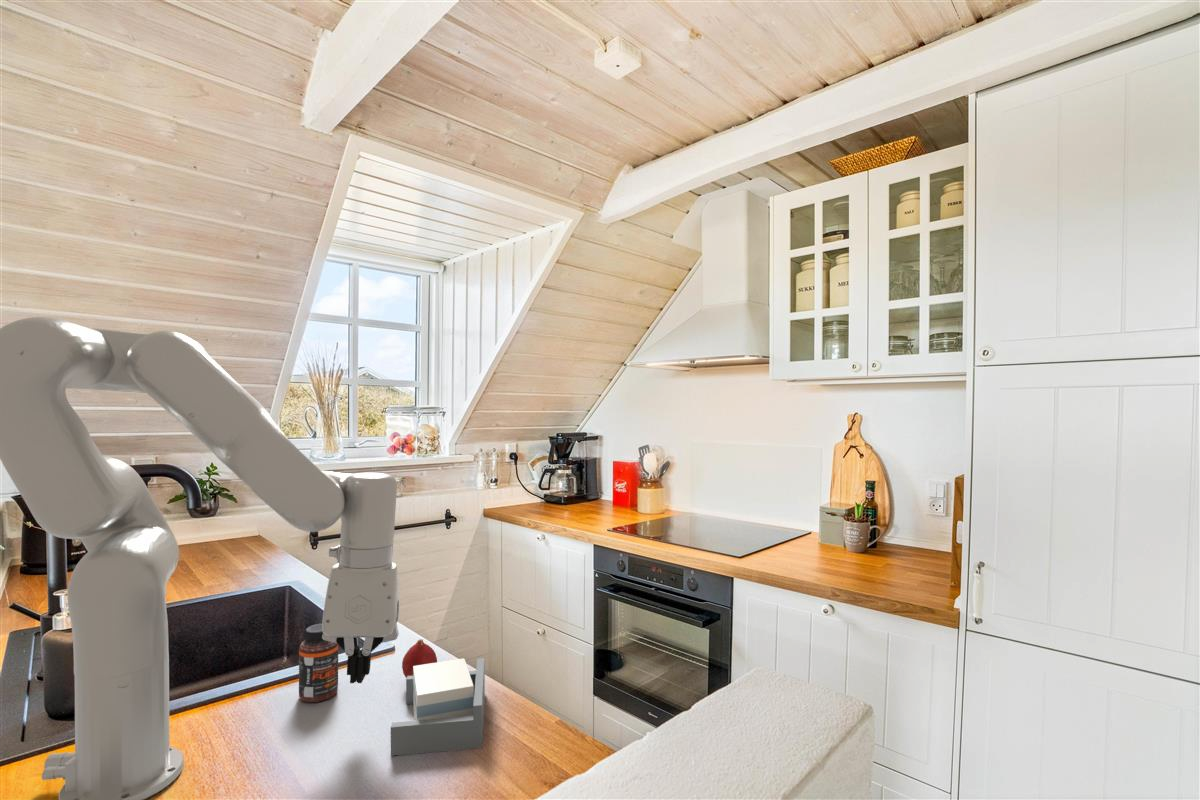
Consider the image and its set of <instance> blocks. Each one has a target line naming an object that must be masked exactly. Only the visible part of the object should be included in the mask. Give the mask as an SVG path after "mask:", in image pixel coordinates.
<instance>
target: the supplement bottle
mask: <svg viewBox="0 0 1200 800" xmlns="http://www.w3.org/2000/svg"><path fill="white" fill-rule="evenodd" d="M322 635H323V631H322V623H317V624H312V625H310V626H308V627H307V628H305V639H304V640H303V641H302V642H301V643H300V645H299V649H298V650H299V651H298V653H299V654H298V697H299V699H300V700H301V701H302V702H305V703H319V702H320V703H321V702H323V701H326V700H328V699H330V698H332V697H334V696H335V695H336V694H337V693H338V690H339V688H338V687H339V645H338V644H337V643H336V642H330V641H326V640H323V639H322Z"/></svg>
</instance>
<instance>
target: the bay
mask: <svg viewBox="0 0 1200 800" xmlns="http://www.w3.org/2000/svg"><path fill="white" fill-rule="evenodd" d="M485 663H486V662H485V658H484V657H481V658H476V669H475V670H472V671H471V670H468V671H469V674H470V677H471V680H472V683H473V686H474V703H473V716H463V717H451V718H440V719H429V720H417V721H415V720H407V721H397V722H391V725H390V757H395V756H394V755H398V756H405V754H408V755H416V754H418V755H419V754H427V753H438V752H447V751H448V752H449V751H458V750H467V749H468V750H470V749H478V748H483V739H484V737H483V736H484V735H483V734H484V716H485V715H484V714H485V698H486V697H485V695H486V694H485V692H486V690H485V687H486V686H485V681H486V679H485V677H486V676H485V675H486V674H485V671H486V670H485V665H486V664H485ZM405 687H406V689H405V693H406V694H405V696H406V697H405V699H406V701H405V705H413V676H407V678H406V679H405Z"/></svg>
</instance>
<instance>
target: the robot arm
mask: <svg viewBox="0 0 1200 800" xmlns="http://www.w3.org/2000/svg"><path fill="white" fill-rule="evenodd" d="M67 389H80V390H95V391H96V390H97V391H111V392H120V393H121V392H122V393H123V392H124V393H136V394H137V393H140V394H147V395H148V396H149V397H150V398H151V399H153V400H154V402H156V403H157V404H158V405H159V406H160V407H162V409H164V410H165V411H167V413H168V414H170V415H171V416H172V417H173V419H174V418H175V420H176V421H178V422H179V423H180V424H181V425H182V426H183V427H185V428H186V429H187V430H188V431H189V432H190V433H191V434H192V435H194V436H195V437H196V438H197V439H198V440H199V441H200V442H201V443H202V444H204V446H205V447H206V448H208V449H209V450H210V451H211V452H212V453H213V454H214V456H216V458H217V459H218V460H219V461H220V462H221V463H222V464H224V465H225V466H226V467H227V468H228V469H230V470H231V472H233V473H234V474H235V476H237V478H238V479H240V480H241V482H242V483H243V484H244V485H246V486H247V487H248V488H249V489H250V491H252V493H254V494H255V496H257V497H258V498H259V499H260V500H262V501H263V502H264V503H265V504H266V505H267V506H268V507H270V508H271V510H273V511H274V512H275V513H276V514H277V515H278V516H279V517H281V518H282V519H283V520H284V521H286V522H287V523H288V524H289V525H291V526H292V527H294V528H295V529H298V530H300V531H304V532H308V533H316V532H317V533H318V532H322V531H324V530H327V529H329V528H331V527H332V526H333V525H335V524H336V523H337V522H338V521H339V519H340V521H341V522H340V524H341V527H340V538H339V539H340V540H339V544H338V545H337V546H335V547H329V549H328V557H329V558H330V557H331V558H332V557H333V558H334V559H336V561H337V563H336V564H334V565H333V566H332V567H331V571H330V573H329V577H328V582H327V586H326V587H327V588H326V592H325V598H324V599H325V600H324V605H323V614H322V621H321V622H322V623H321V624H322V631H323V635H322V639H323V640H326V641H330V642H336V643H337V644H338V647H340V648H341V649H342V650H343V651H344V653H345V656H347V665H346V666H347V667H346V675H347V676H350V677H349V678H350V680H349V683H350V684H355V683H357V684H362V683H363V680H364V679H365V677H366V676H368V675H369V674H370V672H371V671H370V670H371V663H372V662H371V660H372V652H373V651H374V650H375V649H376V648H378V647H379V646H380V645H381V644H382V643H388V642H392V641H396V640H397V639H398V637H399V636H400V635H399V634H400V633H399V629H398V624H397V623H398V621H399V614H400V613H399V612H400V611H399V610H400V608H399V607H400V605H399V604H400V596H399V595H400V594H399V593H400V592H399V591H400V590H399V576H398V568H397V564H396V563H395V562H393V556H394V555H393V553H394V540H395V539H394V538H395V537H394V536H395V526H396V525H395V521H396V507H397V494H398V490H397V489H398V483H397V480H396V478H395V477H394V476H393V475H391V474H388V473H382V472H356V473H344V472H334V471H330V470H329V471H328V470H321V469H320V468H319V467H317V466H316V465H315V463H313V462H312V461H311V460H310V459H309V458H308V457H307V456H306V455H305V454H304V453H303V452H302V451H301V450H300V449H299V448H298V447H296V445H295V444H294V443H292V441H291V440H290V439H288V437H287V436H286V435H285V434H284V432H283V431H282V429H280V427H279V426H278V424H277V423H276V421H275V420H274V417H273V416H272V414H270V413H269V412H268V410H267V409H266V408H265V407H264V406H263V405H262V404H261V403H260V402H259V401H258V400H257V399H256V398H255V397H254V396H253V395H252V394H251V393H250V392H248V390H246V389H245V388H244V387H243V386H241V384H240V383H238V381H236V380H235V379H234V378H233V377H232V376H231V375H230V374H229V373H228V372H227V371H226V370H225V369H224V368H222V366H221V365H220V364H218V363H217V362H216V361H215V360H214V359H213V358H212V357H211V356H210V355H209V353H208V351H207V350H206V348H204V346H202V345H201V344H200V343H199V342H198V341H196V340H194V339H192V338H191V337H189V336H187V335H185V334H183V333H180V332H177V331H172V330H159V331H154V332H150V333H148V334H147V333H139V332H138V333H136V332H130V331H128V332H126V331H120V330H119V331H118V330H110V329H102V328H94V327H87V326H83V325H81V324H77V323H74V322H71V321H67V320H64V319H60V318H55V317H48V316H38V317H37V316H35V317H33V316H32V317H31V316H30V317H26V318H21V319H17V320H15V321H13V322H10V323H8V324H5V325H3V326H1V327H0V461H1V463H2V465H3V467H4V469H5V471H6V472H7V474H8V475H9V477H10V479H11V481H12V483H13V484H14V486H15V487H16V489H17V491H18V492H19V493H20V496H21V497H22V499H23V501H24V503H25V504H26V506H27V508H28V510H29V511H30V513H31V515H32V517H33V518H34V520H35V521H36V523H37V525H38V526H39V527H41V529H43V531H45V532H46V533H48V534H50V535H52V536H54V537H56V538H60V539H67V540H68V539H69V540H75V539H77V540H78V539H79V540H81V542H82V545H83V546H84V548H85V549H86V551H87V553H85V554H84V555H83V556H82V558H80V560H79V561H78V562H77V564H76V566H75V567H74V568H73V571H72V573H71V574H70V577H69V581H68V584H67V591H66V592H67V594H66V595H67V596H66V598H67V599H66V600H67V607H68V614H69V618H70V619H69V620H70V625H71V632H72V633H71V634H72V643H73V644H72V645H73V646H72V648H73V649H72V650H73V675H74V752H60V753H59V752H58V753H57V752H55V753H50V754H49V755H48V756H47V757H46V759H45V762H44V766H43V768H44V769H43V771H42V773H41V780H43V781H46V780H49V781H50V780H56V779H61V778H62V780H63V781H64V785H62V787H61V789H60V790H59V793H58V800H147V799H148V798H151V797H152V796H153V795H157V793H159V792H160V791H162V790H164V789H165V788H167V787H168V786H169V785H170V784H172V783H173V782H174V781H175V780H176V779H177V778H178V777H179V775H180V774H181V773H182V771H183V769H184V765H185V759H184V754H183V753H182V751H181V750H180V749H178V748H176V747H172V746H171V745H170V742H171V741H170V653H169V623H168V622H169V621H168V613H167V601H166V599H167V598H166V597H167V596H166V595H167V593H166V592H167V589H166V588H167V583H168V582H169V579H170V578H171V577H172V575H173V574H174V572H175V571H176V569H177V565H178V563H179V557H180V548H179V544H178V541H177V539H176V537H175V535H174V533H173V530H172V529H171V527H170V525H169V524H168V522H167V520H166V519H165V517H164V515H163V514H162V511H161V510H160V508H159V506H158V504H157V502H156V500H155V498H154V497H153V495H152V494H151V491H150V490H149V488H148V486H147V485H146V483H145V481H144V480H143V478H142V477H141V476H140V474H139V473H138V472H137V471H136V470H135V469H134V468H133V467H132V466H131V465H129V464H128V463H126V462H124V461H122V460H120V459H118V458H114V457H110V456H104V455H102V453H101V451H100V449H99V448H98V446H97V445H96V443H95V442H94V440H93V438H92V437H91V434H90V433H89V430H88V428H87V427H86V424H85V423H84V421H83V420H82V418H81V417H80V416H79V414H78V413H77V412H76V411H75V409H74V408H73V407H72V406H71V404H70V402H69V400H68V398H67V393H66V390H67ZM359 638H364V642H363V645H362V648H361V647H360V646H359Z"/></svg>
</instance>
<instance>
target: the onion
mask: <svg viewBox="0 0 1200 800" xmlns="http://www.w3.org/2000/svg"><path fill="white" fill-rule="evenodd" d="M436 662H438V658H437V654H436V652H435V649H433V648H432V647H431V646H430V645H429V644H427V643H425V642H424V640H423V639H422V638H420V639H418V640H417V641H416V643H415V644H413V645H412V646H411V647H409V649H408V650H407V652H406V653H405V654H404V656H403V658H402V662H401V669H402V673H403V675H404V677H405V678H406V679H407V676H413V666H417V665H423V664H430V663H436Z"/></svg>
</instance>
